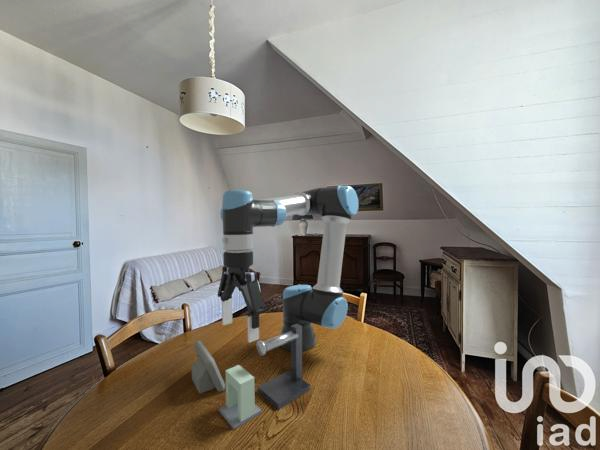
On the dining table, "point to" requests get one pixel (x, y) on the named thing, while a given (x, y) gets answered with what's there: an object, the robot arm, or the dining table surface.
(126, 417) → the dining table surface
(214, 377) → the digital clock
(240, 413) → the bracket
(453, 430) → the dining table surface
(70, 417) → the dining table surface
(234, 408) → the coaster
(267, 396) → the stand
